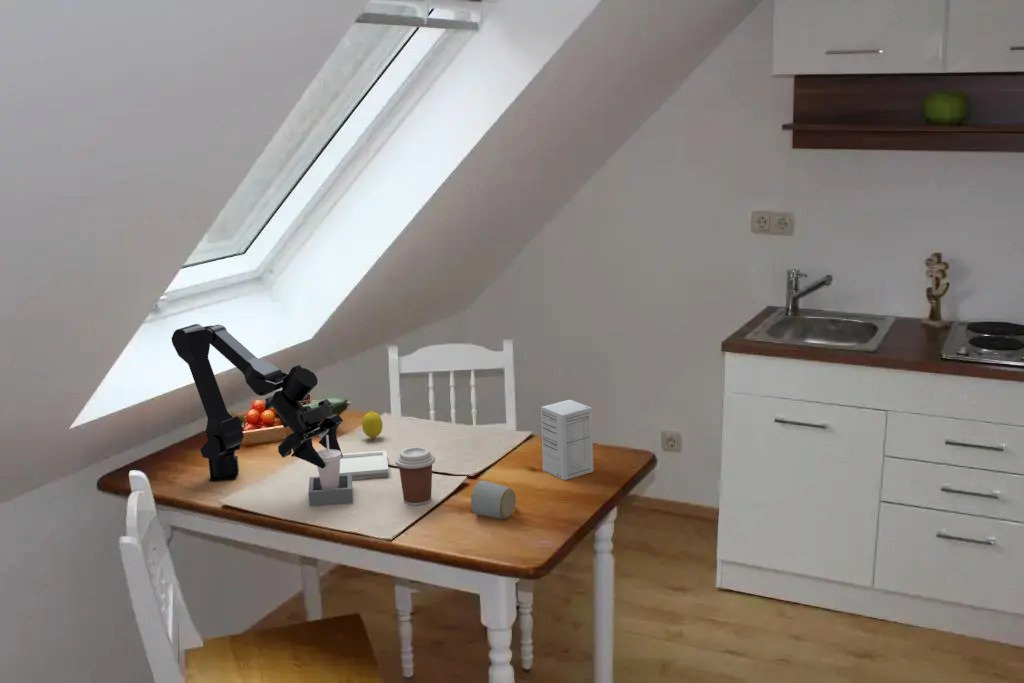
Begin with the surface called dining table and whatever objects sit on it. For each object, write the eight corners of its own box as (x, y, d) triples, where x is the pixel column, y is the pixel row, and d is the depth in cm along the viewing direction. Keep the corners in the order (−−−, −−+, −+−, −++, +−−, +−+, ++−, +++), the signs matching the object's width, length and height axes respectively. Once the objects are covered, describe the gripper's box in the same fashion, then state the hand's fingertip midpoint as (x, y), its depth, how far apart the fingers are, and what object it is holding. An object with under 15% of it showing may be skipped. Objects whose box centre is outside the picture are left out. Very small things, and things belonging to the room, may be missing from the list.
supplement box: (572, 461, 268) (570, 398, 264) (594, 472, 261) (593, 406, 257) (541, 470, 263) (539, 405, 259) (563, 481, 256) (562, 414, 252)
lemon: (359, 441, 289) (357, 413, 287) (369, 434, 294) (367, 407, 292) (377, 443, 287) (375, 415, 285) (386, 436, 292) (385, 409, 290)
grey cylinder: (503, 525, 232) (502, 492, 230) (470, 519, 235) (469, 486, 234) (524, 508, 241) (523, 476, 239) (492, 502, 244) (491, 471, 243)
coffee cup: (435, 491, 252) (432, 443, 249) (439, 505, 243) (436, 456, 240) (396, 494, 251) (393, 447, 248) (399, 509, 242) (396, 460, 239)
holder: (309, 506, 245) (308, 492, 244) (310, 490, 255) (309, 477, 254) (352, 502, 247) (351, 488, 246) (352, 487, 256) (351, 473, 255)
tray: (331, 481, 260) (331, 473, 260) (332, 462, 274) (331, 454, 273) (388, 476, 262) (388, 469, 262) (386, 457, 276) (386, 450, 275)
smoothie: (347, 487, 253) (343, 431, 250) (340, 497, 247) (336, 440, 244) (321, 486, 254) (316, 431, 251) (313, 496, 248) (309, 440, 244)
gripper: (284, 403, 238) (326, 456, 236) (334, 381, 254) (374, 431, 252) (259, 431, 244) (301, 483, 242) (310, 408, 260) (349, 457, 258)
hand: (333, 462), depth 248 cm, fingers closed on smoothie, 6 cm apart
